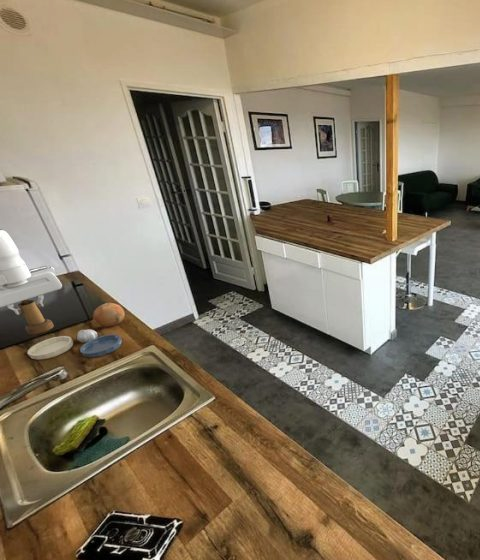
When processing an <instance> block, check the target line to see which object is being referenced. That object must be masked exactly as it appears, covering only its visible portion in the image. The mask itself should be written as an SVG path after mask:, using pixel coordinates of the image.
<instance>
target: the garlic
mask: <svg viewBox="0 0 480 560" xmlns="http://www.w3.org/2000/svg"><path fill="white" fill-rule="evenodd" d="M97 337H99V335H98V332H97V331H95V330H94V329H91V328H90V329H89V328H88V329H81V330H79V331H77V336H76V339H77V341H78V342H80V343H83V344H85V343H87V342H88V341H90V340H92V339H95V338H97Z"/></svg>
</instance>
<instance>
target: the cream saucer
mask: <svg viewBox="0 0 480 560" xmlns="http://www.w3.org/2000/svg"><path fill="white" fill-rule="evenodd" d="M73 345H74V339H73V338H72V337H71V336H68V335H60V336H54V337H49V338H46V339H44V340H41V341H39V342H37V343H35V344H34V345H32V346H31V347H30V348H29V349H27V353H26V354H27V356H28V357H29V358H31V359H32V360H36V361H40V360H41V361H43V360H47V359H51V358H55V357H57V356H60V355H62V354H64V353H66V352H67V351H69V350H70V349H71V348H72V347H73Z"/></svg>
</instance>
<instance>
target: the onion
mask: <svg viewBox="0 0 480 560" xmlns="http://www.w3.org/2000/svg"><path fill="white" fill-rule="evenodd" d="M92 318H93V321H94V322H95V323H96V324H97V325H98V326H100V327H105V328H107V327H114V326H117V325H119V324H121V322H122V321H123V320H124V319H125V310H124V308H123V307H122V306H121V305H120V304H117V303H113V302H105V303H103V304H101V305H99V306H98V307H96V308H95V310H94V311H93V315H92Z"/></svg>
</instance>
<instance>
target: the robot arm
mask: <svg viewBox="0 0 480 560" xmlns="http://www.w3.org/2000/svg"><path fill="white" fill-rule="evenodd" d="M56 275H57V272H56V270H55V268H54V267H52V266H50V265H48V266H47V265H42V266H40V267H35V268H31V269H29V267H28V266H27V264H26V261H24V259H23V258H22V257H21V255H20V249H18V247H17V244H16V243H15V242H14V240H13V239H12V237H11V236H10V234H9V233H8V232H7V231H6V230H3V229H2V228H0V309H1V308H4V307H5V308H7V309H9V310H12V311H13V312H14V314H15V315H17V316H19V315H22V314H23V312H22V309H20V308H19V307H18V308H16V307H15V304H16V303H21V301H23V300H26V299H29V300H30V299H33V298H37V301H35V303H36V305H37V307H38V309H40V308H43V307H45V305H44V303H43V301H44V298H45V295H46V294H49V293H53V292H56V291H58V290H61V289H62V288H63V284H62V282H61V281H60V279H59V277H57V276H56Z"/></svg>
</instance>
